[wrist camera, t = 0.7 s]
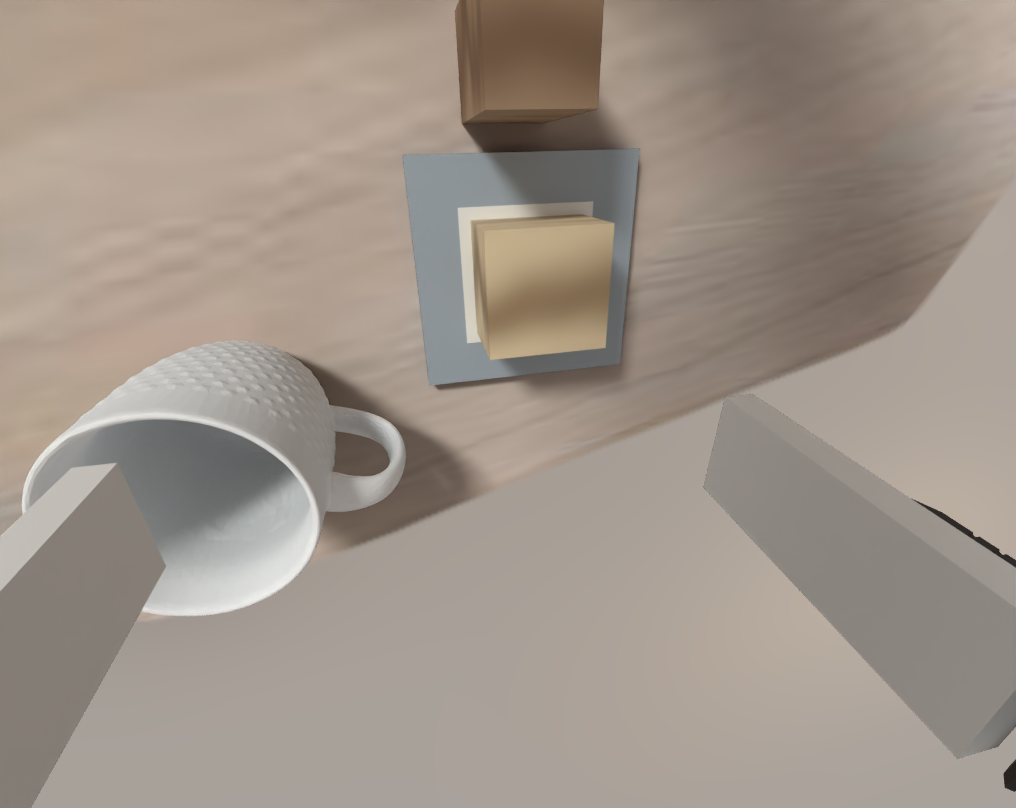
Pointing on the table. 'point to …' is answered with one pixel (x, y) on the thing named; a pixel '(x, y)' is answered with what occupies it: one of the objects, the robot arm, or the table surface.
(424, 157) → the blueprint board
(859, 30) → the table surface
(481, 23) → the walnut block
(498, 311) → the oak block
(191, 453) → the mug
